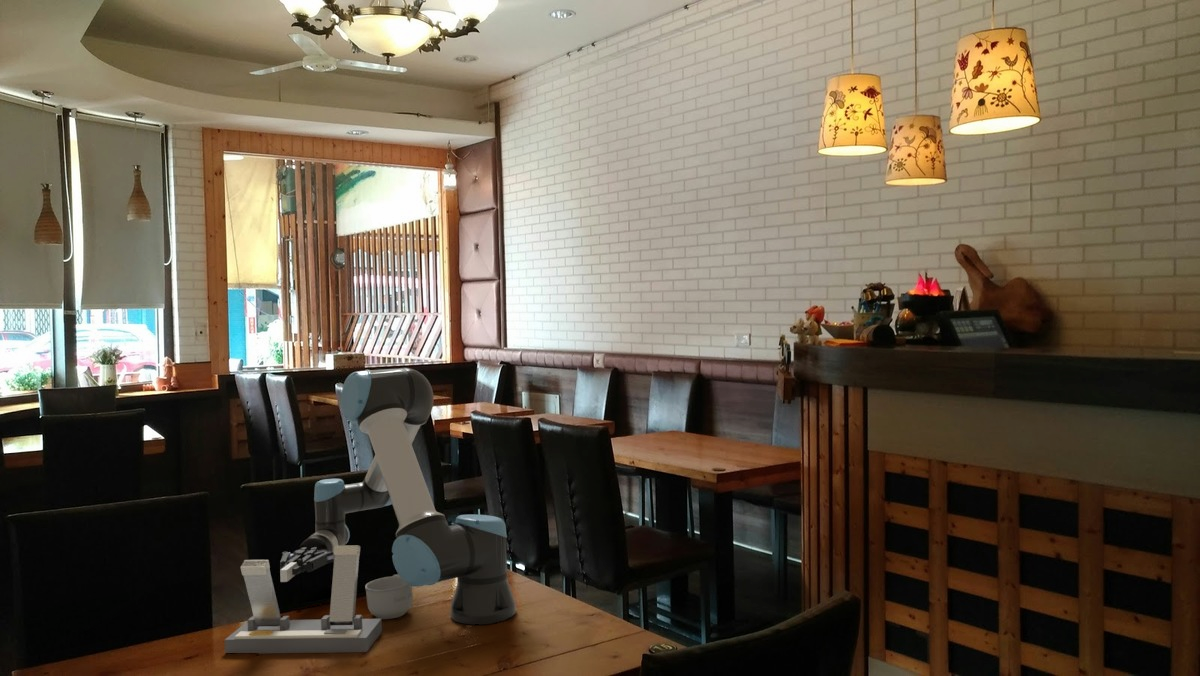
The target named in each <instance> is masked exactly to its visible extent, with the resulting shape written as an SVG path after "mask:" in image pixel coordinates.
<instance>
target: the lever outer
mask: <svg viewBox="0 0 1200 676" xmlns="http://www.w3.org/2000/svg"><path fill="white" fill-rule="evenodd" d="M270 568H271V566H270V561H269V559H244V560H243V562H242V564H241V566H240V571H241V575H242V576H243V579H244V583H245V588H246V591H247V595H248V600H249V603H250V607H251V611H252V616H254V620H255V624H256V625H257V626H258V627H261V626H280V619H281V618H282V617H281V613H280V608H279V603H278V599H277V596H276V591H275V587H274V582H273V578H272V575H271V570H270Z"/></svg>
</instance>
